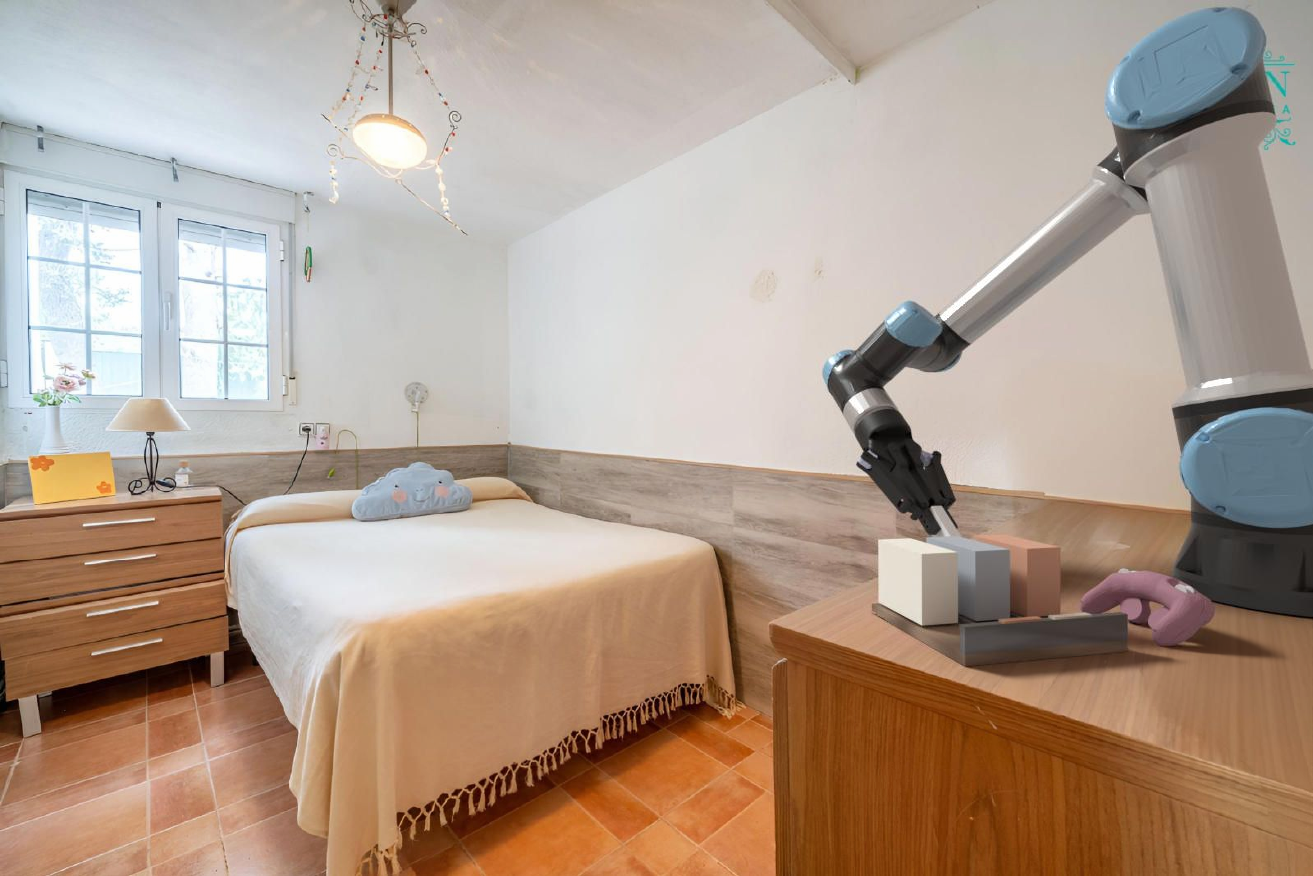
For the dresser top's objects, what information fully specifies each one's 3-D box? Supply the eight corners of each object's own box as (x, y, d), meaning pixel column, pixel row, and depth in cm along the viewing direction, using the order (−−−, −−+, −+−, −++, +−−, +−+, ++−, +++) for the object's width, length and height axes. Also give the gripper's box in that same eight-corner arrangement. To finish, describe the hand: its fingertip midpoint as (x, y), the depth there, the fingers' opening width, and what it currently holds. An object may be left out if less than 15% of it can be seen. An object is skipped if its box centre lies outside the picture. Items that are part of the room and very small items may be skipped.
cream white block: (878, 602, 56) (878, 539, 56) (910, 600, 57) (910, 538, 57) (921, 625, 49) (921, 554, 49) (957, 622, 50) (957, 552, 50)
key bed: (871, 612, 57) (871, 580, 57) (1002, 603, 60) (1002, 573, 60) (965, 666, 43) (964, 624, 43) (1127, 651, 46) (1127, 612, 46)
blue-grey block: (926, 599, 57) (926, 537, 57) (957, 597, 58) (957, 536, 58) (975, 621, 50) (975, 551, 50) (1010, 618, 51) (1009, 549, 51)
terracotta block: (973, 596, 58) (972, 535, 58) (1002, 594, 59) (1002, 534, 59) (1027, 617, 51) (1027, 548, 51) (1060, 614, 52) (1060, 547, 52)
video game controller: (1201, 665, 47) (1236, 598, 47) (1157, 643, 47) (1191, 576, 47) (1107, 625, 57) (1136, 570, 57) (1071, 607, 57) (1099, 552, 57)
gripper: (903, 440, 83) (986, 567, 67) (830, 441, 81) (897, 572, 65) (925, 406, 78) (1021, 535, 62) (848, 406, 76) (925, 539, 59)
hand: (957, 554), depth 63 cm, fingers closed
